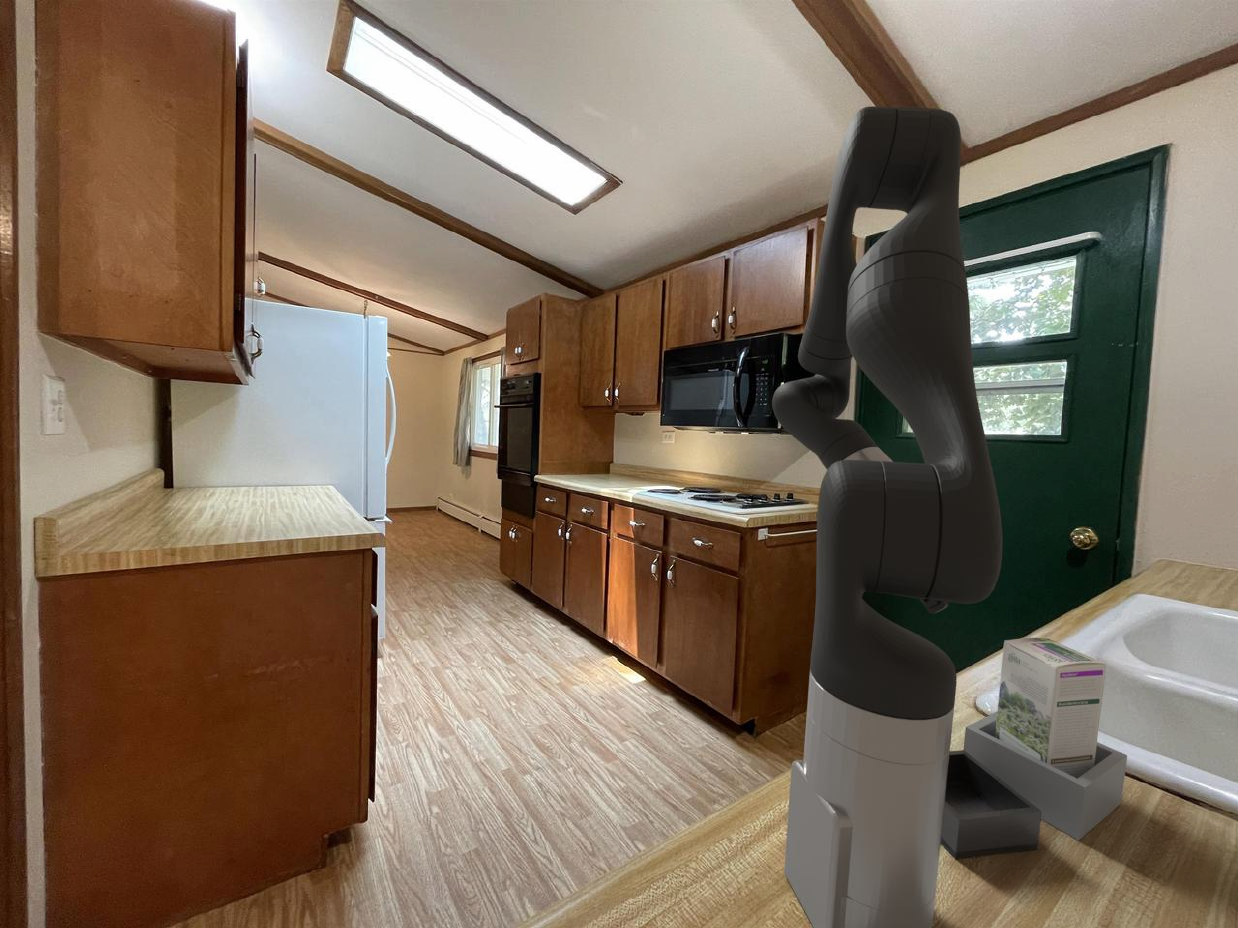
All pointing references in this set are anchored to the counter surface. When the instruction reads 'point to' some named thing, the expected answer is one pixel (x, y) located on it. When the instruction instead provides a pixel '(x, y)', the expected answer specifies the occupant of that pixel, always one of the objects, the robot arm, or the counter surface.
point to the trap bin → (985, 812)
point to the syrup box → (1050, 703)
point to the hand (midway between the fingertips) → (961, 604)
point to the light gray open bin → (1052, 780)
